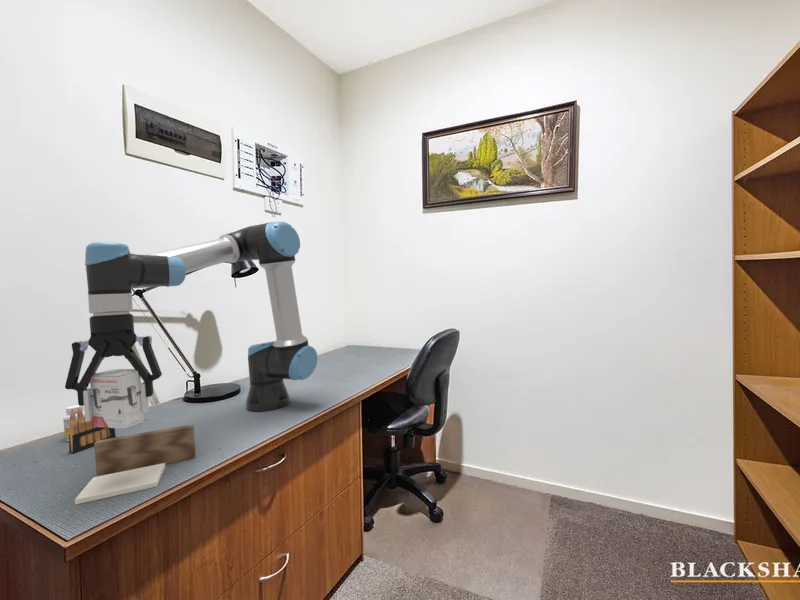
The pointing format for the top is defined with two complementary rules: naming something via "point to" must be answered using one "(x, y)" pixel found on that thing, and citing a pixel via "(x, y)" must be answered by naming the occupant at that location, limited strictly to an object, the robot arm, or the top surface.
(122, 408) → the ink box
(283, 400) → the robot arm
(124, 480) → the pad
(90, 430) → the ammunition clip
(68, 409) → the supplement bottle
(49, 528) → the top surface
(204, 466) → the top surface
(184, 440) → the walnut screen
